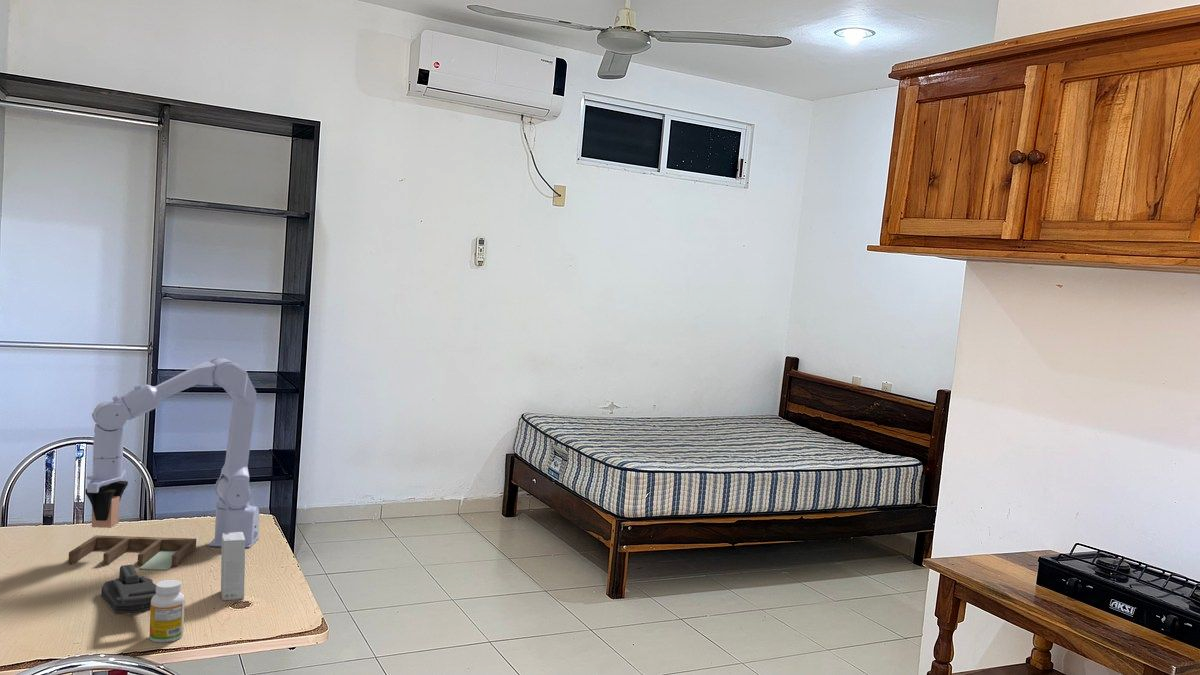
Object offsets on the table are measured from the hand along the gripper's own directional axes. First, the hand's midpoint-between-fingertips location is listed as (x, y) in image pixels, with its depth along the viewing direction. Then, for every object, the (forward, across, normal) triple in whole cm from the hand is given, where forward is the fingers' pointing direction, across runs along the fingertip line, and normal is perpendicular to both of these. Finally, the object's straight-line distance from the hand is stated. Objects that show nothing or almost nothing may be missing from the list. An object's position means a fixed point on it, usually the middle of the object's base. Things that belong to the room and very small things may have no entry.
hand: (106, 517), depth 192 cm
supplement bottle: (+9, +42, +28) cm, 51 cm away
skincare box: (+9, +21, +33) cm, 40 cm away
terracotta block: (+2, 0, 0) cm, 2 cm away
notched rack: (+9, 0, +6) cm, 11 cm away
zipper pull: (+9, +30, +18) cm, 36 cm away
